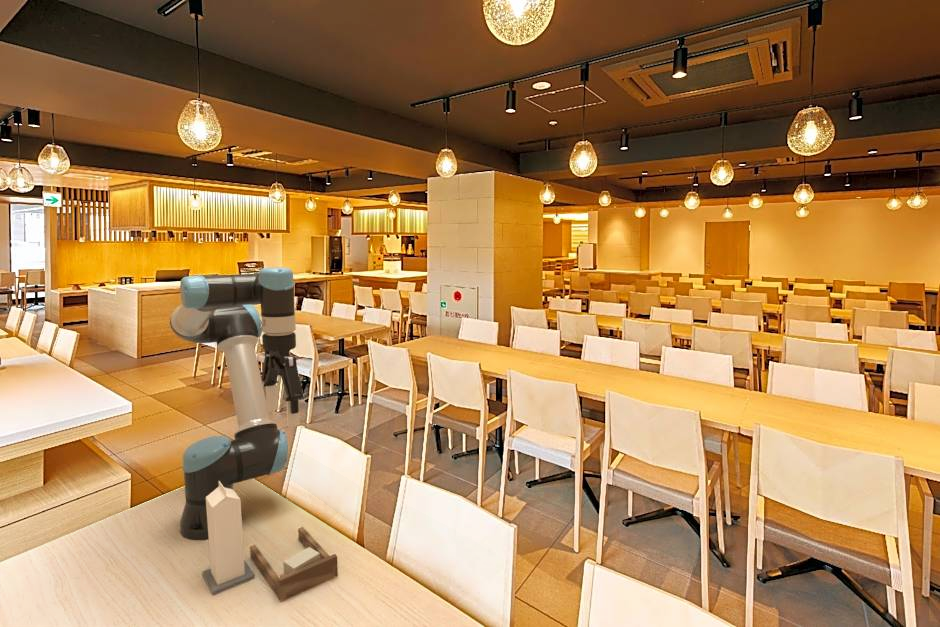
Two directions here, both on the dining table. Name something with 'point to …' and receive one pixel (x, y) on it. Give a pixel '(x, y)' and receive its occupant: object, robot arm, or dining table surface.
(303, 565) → the offcut top
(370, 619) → the dining table surface
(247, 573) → the slate pad
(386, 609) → the dining table surface
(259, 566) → the rack
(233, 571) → the milk
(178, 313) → the robot arm
